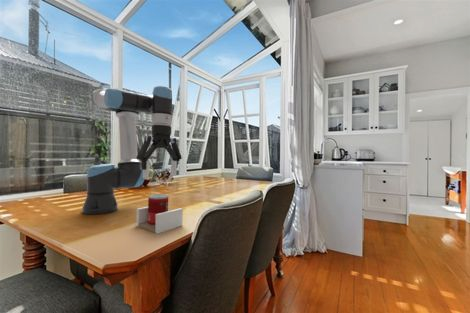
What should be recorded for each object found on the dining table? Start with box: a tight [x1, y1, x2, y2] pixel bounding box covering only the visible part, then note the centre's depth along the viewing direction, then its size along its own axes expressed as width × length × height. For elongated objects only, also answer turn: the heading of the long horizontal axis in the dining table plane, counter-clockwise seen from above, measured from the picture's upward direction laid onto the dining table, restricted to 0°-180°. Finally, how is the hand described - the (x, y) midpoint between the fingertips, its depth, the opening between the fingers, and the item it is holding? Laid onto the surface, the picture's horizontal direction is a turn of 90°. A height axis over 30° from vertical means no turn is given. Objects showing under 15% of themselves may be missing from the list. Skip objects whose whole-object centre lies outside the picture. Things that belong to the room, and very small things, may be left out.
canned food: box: [147, 193, 169, 225], centre depth 91 cm, size 8×8×11 cm
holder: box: [135, 206, 184, 234], centre depth 91 cm, size 14×12×7 cm
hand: (160, 176), depth 91 cm, fingers open, 13 cm apart
